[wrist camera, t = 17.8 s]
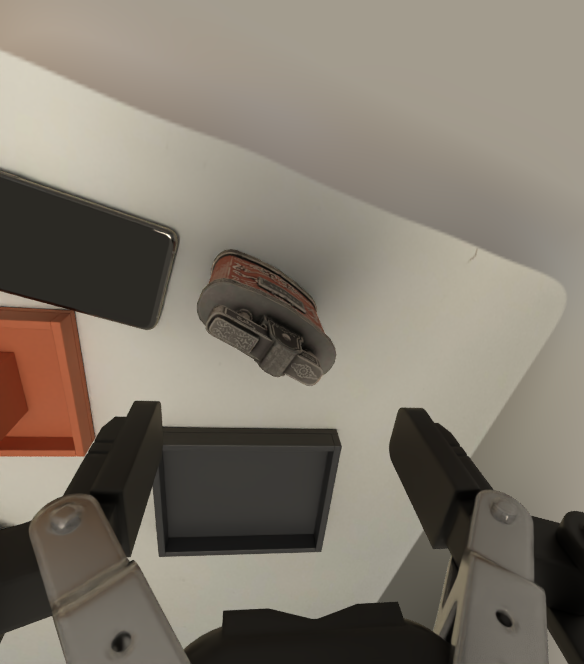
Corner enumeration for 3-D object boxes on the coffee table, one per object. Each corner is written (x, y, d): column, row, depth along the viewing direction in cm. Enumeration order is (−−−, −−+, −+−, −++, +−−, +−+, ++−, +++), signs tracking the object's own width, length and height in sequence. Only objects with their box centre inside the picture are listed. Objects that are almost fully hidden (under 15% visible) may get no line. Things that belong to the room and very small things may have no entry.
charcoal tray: (336, 429, 32) (341, 446, 30) (317, 532, 37) (321, 552, 35) (155, 427, 30) (148, 445, 28) (163, 535, 35) (158, 557, 33)
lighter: (324, 299, 27) (361, 369, 17) (298, 334, 28) (320, 418, 18) (227, 237, 24) (212, 282, 15) (202, 279, 25) (174, 344, 16)
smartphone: (154, 334, 25) (-125, 259, 21) (157, 327, 26) (-109, 255, 22) (179, 232, 23) (-134, 126, 19) (182, 229, 24) (-116, 127, 20)
